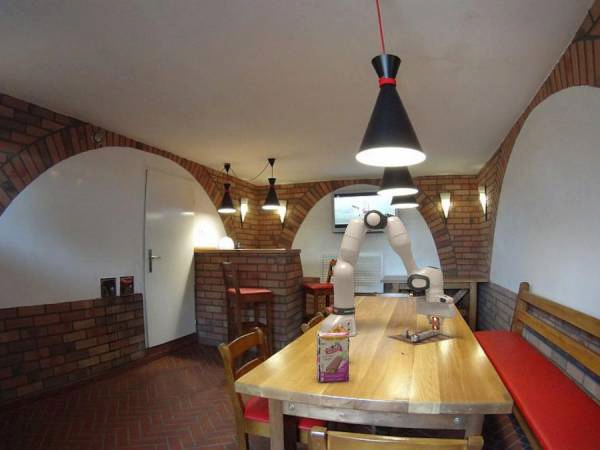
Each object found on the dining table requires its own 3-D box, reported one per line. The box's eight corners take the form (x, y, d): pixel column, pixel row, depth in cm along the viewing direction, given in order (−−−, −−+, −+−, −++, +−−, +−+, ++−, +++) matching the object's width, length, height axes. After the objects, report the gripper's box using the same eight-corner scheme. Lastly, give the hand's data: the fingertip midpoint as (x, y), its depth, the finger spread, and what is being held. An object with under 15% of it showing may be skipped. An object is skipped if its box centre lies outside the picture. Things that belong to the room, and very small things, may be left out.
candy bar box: (319, 383, 130) (318, 336, 131) (316, 378, 135) (316, 333, 136) (349, 381, 132) (349, 335, 133) (346, 376, 137) (345, 331, 138)
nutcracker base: (415, 348, 172) (414, 336, 173) (386, 339, 189) (386, 328, 189) (457, 340, 186) (456, 329, 186) (427, 332, 203) (427, 322, 203)
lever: (417, 342, 175) (416, 324, 176) (410, 341, 178) (409, 323, 178) (441, 333, 192) (440, 317, 192) (434, 332, 195) (434, 316, 195)
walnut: (412, 340, 182) (412, 332, 182) (406, 338, 185) (406, 330, 186) (418, 339, 184) (418, 331, 184) (412, 337, 187) (412, 329, 188)
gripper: (413, 296, 198) (414, 322, 198) (451, 300, 184) (452, 328, 183) (419, 295, 203) (420, 320, 202) (456, 298, 188) (457, 326, 187)
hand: (435, 324), depth 192 cm, fingers open, 4 cm apart
